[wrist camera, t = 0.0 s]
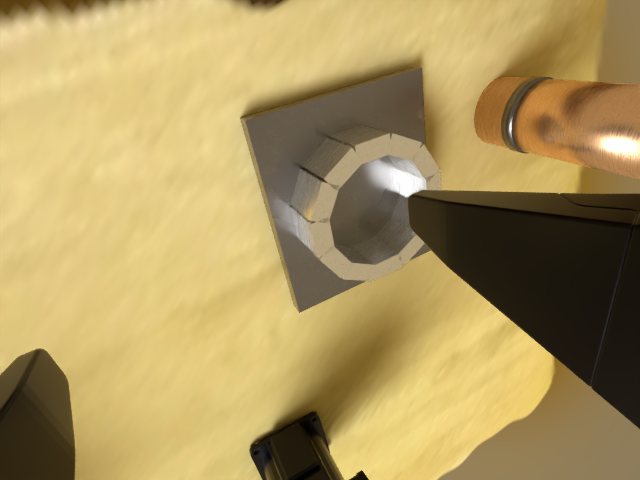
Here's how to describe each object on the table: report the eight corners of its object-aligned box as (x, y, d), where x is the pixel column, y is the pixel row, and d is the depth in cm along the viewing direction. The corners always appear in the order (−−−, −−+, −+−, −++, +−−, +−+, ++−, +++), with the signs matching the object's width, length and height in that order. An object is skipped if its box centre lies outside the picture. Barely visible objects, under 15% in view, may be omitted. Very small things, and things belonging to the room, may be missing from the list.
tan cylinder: (520, 133, 33) (694, 168, 23) (472, 152, 31) (638, 198, 21) (525, 67, 30) (725, 74, 20) (473, 84, 28) (663, 101, 19)
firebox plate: (422, 245, 33) (457, 266, 29) (294, 305, 29) (317, 337, 26) (412, 67, 26) (455, 69, 22) (240, 118, 22) (262, 129, 19)
